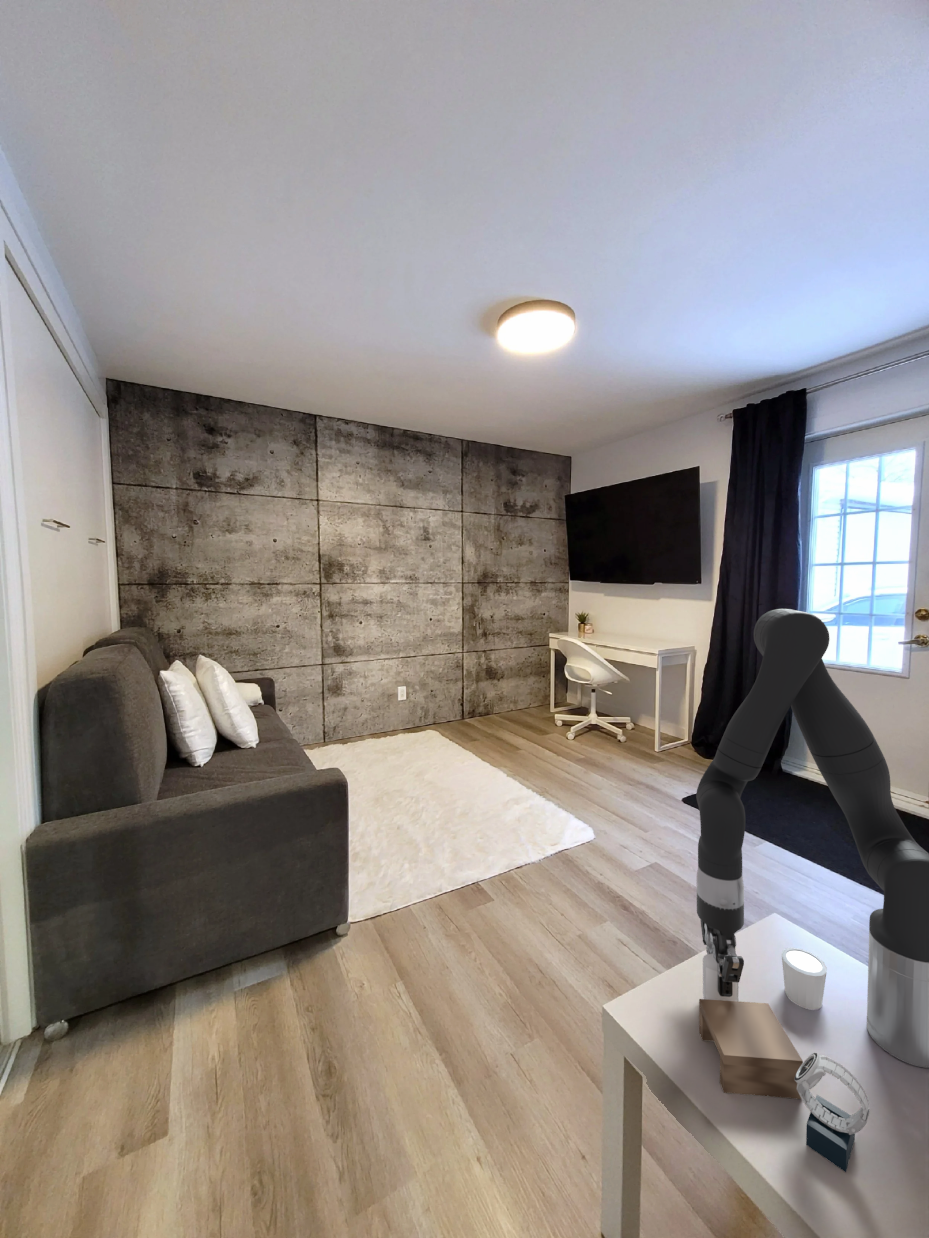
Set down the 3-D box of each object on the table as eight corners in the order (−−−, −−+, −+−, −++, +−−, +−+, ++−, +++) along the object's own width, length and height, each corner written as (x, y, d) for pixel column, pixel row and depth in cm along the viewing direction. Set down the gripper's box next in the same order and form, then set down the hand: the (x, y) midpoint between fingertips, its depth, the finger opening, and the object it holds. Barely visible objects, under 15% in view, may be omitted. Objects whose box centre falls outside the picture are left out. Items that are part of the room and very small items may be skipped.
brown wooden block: (767, 1037, 82) (768, 1003, 81) (802, 1099, 72) (802, 1060, 72) (699, 1032, 83) (699, 998, 83) (723, 1092, 73) (724, 1054, 73)
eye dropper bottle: (732, 1019, 85) (731, 952, 84) (699, 999, 89) (698, 936, 88) (741, 1004, 88) (741, 940, 87) (709, 986, 92) (708, 924, 91)
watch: (800, 1104, 71) (801, 1033, 71) (871, 1150, 65) (873, 1072, 65) (789, 1133, 67) (790, 1058, 67) (863, 1185, 62) (865, 1103, 61)
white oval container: (811, 982, 93) (812, 947, 92) (835, 1014, 86) (836, 976, 85) (773, 980, 93) (774, 946, 93) (794, 1011, 87) (794, 974, 86)
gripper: (761, 921, 80) (761, 1021, 81) (725, 871, 94) (725, 956, 95) (713, 919, 80) (713, 1018, 81) (684, 870, 95) (685, 955, 96)
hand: (720, 984), depth 88 cm, fingers closed on eye dropper bottle, 3 cm apart
